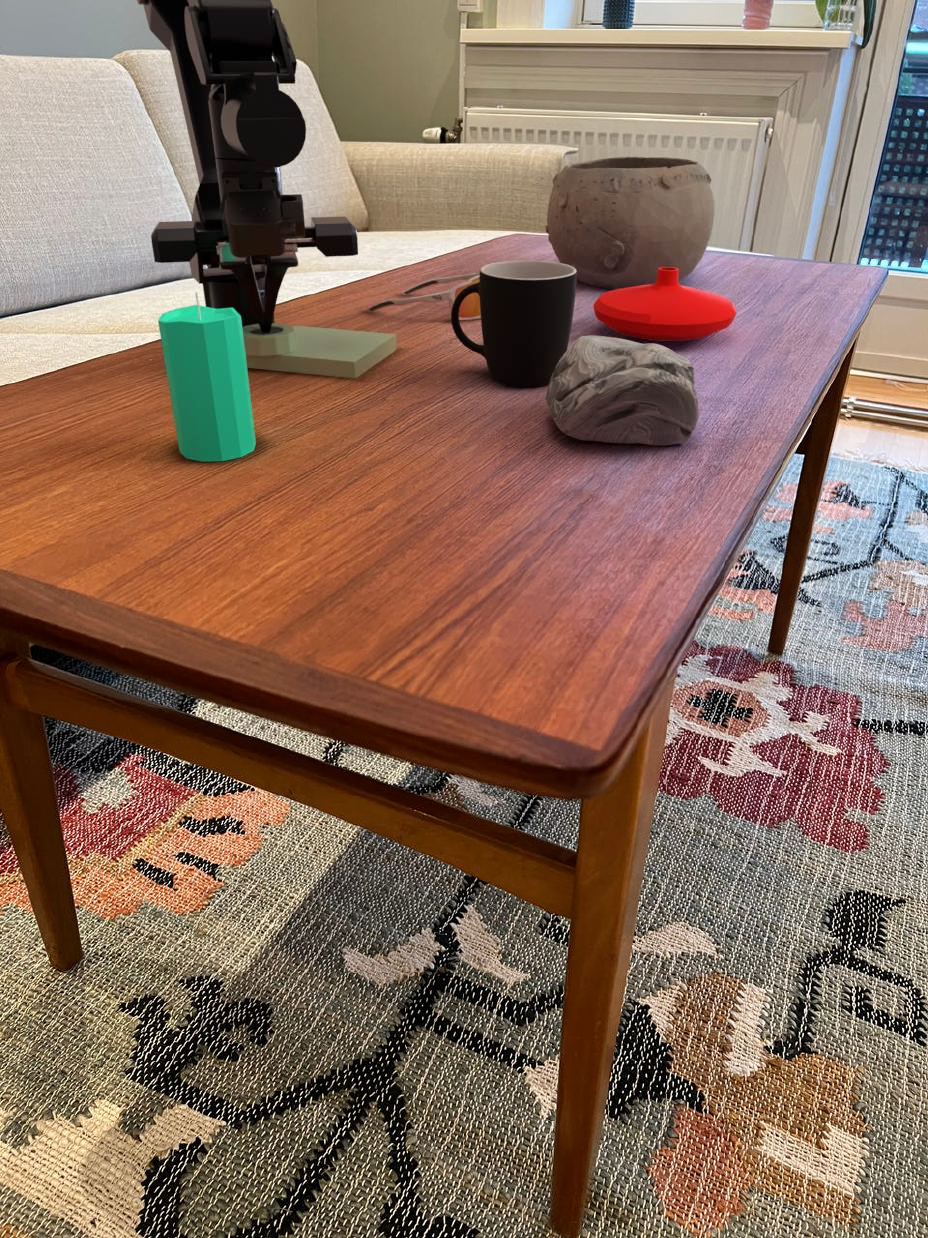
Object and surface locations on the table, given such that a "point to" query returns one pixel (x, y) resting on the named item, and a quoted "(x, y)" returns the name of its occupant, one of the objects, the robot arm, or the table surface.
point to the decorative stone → (623, 393)
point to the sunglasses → (442, 296)
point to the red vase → (664, 310)
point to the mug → (522, 319)
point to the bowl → (630, 218)
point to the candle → (208, 382)
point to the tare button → (273, 331)
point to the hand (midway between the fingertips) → (266, 331)
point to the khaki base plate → (316, 350)
